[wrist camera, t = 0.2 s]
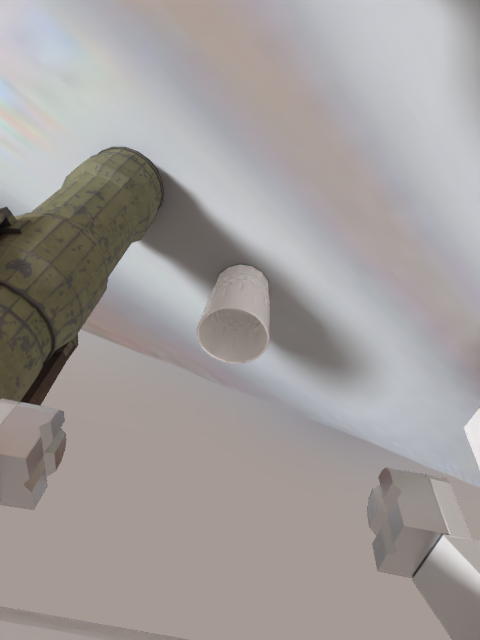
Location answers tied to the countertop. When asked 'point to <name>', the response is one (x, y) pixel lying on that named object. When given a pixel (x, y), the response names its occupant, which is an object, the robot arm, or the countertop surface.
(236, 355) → the white cup
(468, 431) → the milk
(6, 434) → the robot arm
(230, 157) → the countertop surface
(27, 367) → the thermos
